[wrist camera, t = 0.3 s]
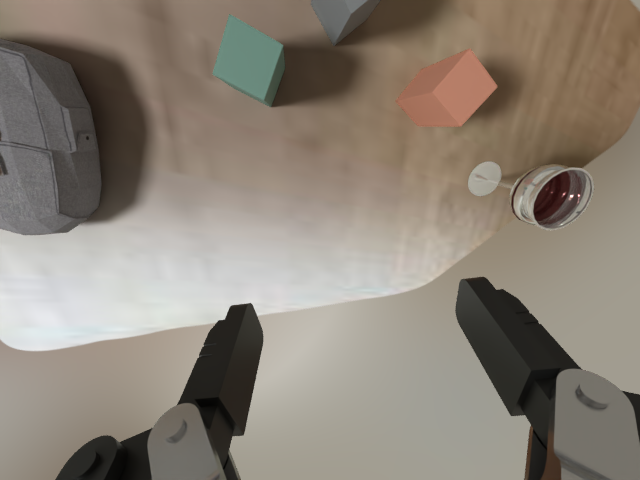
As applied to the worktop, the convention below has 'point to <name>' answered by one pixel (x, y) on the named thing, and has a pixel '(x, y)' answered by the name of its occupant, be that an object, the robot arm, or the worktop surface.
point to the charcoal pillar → (342, 15)
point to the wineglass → (539, 192)
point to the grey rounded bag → (44, 144)
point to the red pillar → (447, 91)
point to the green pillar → (250, 61)
